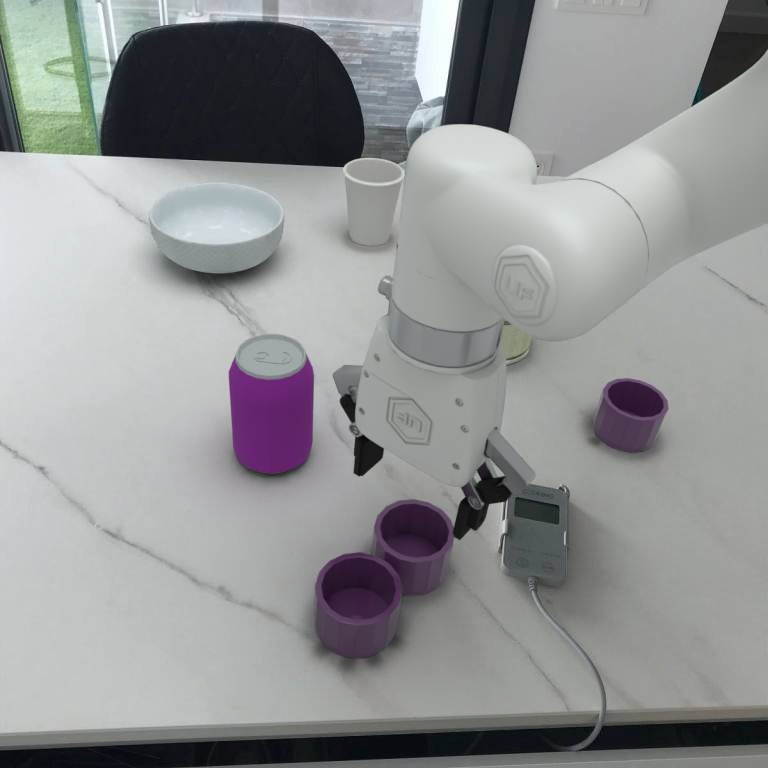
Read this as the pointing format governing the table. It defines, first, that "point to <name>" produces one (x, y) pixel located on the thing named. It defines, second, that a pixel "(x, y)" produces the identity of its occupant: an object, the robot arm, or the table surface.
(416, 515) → the dish middle
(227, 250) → the cereal bowl
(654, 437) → the dish far
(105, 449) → the table surface
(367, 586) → the dish near
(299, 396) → the beverage can
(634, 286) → the robot arm
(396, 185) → the dixie cup
